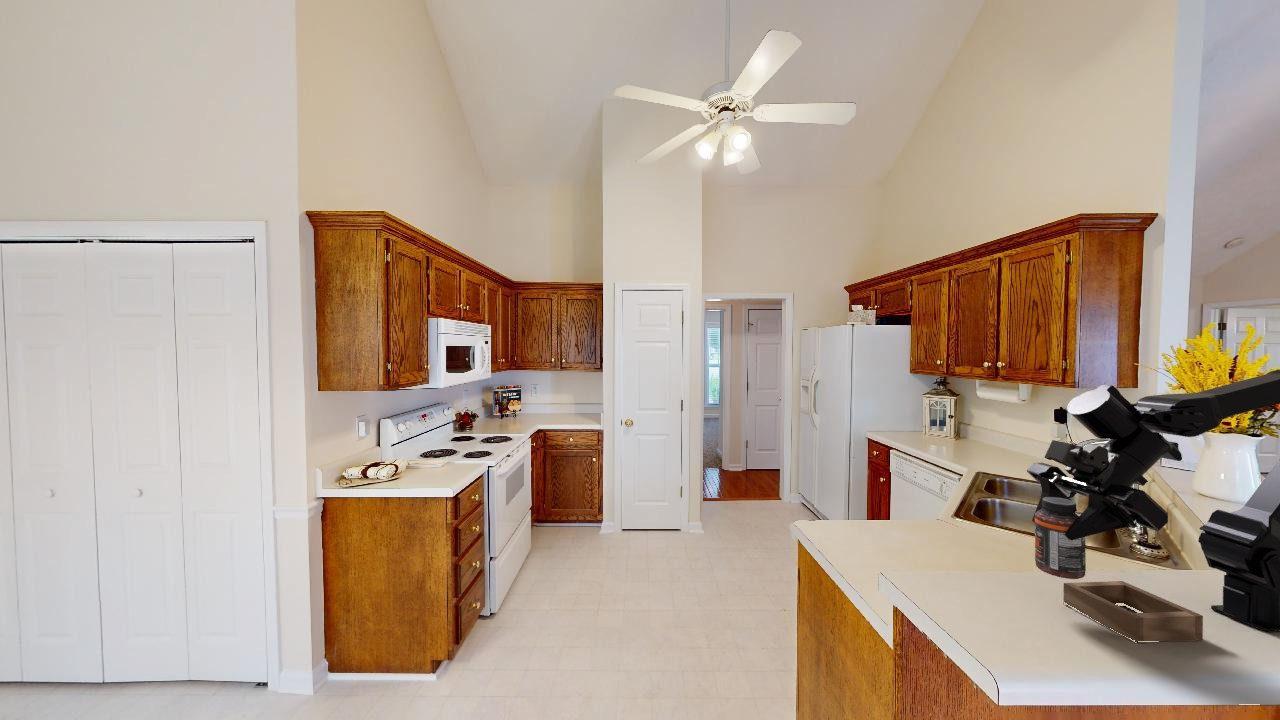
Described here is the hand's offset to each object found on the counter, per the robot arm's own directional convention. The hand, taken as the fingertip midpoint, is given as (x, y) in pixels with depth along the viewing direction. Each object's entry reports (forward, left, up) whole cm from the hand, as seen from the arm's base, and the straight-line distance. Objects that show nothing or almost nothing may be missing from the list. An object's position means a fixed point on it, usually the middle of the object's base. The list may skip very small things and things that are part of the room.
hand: (1050, 530), depth 74 cm
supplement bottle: (-1, 0, -7) cm, 7 cm away
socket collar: (-10, +3, -13) cm, 16 cm away
